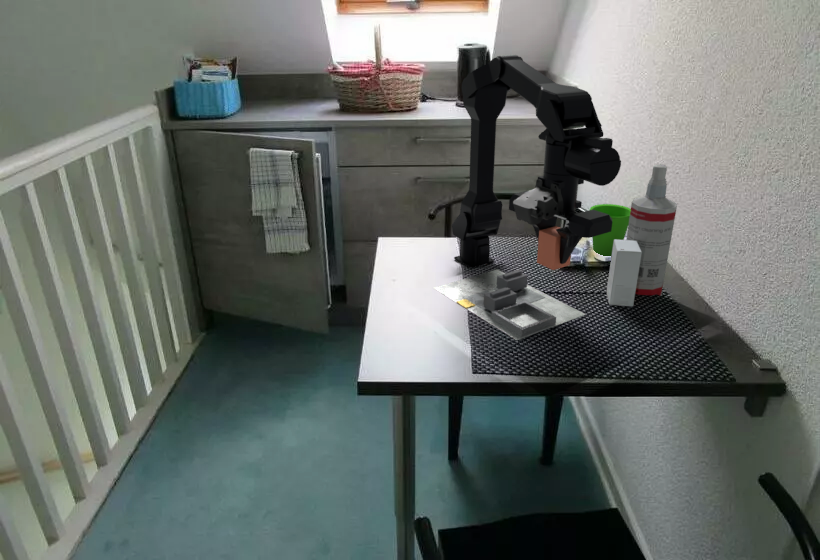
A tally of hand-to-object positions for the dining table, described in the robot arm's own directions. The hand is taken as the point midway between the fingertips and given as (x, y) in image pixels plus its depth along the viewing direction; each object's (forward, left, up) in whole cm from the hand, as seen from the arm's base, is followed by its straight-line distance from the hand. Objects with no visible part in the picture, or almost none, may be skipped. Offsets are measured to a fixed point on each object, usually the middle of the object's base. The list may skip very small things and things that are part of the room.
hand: (553, 259), depth 104 cm
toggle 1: (-9, -1, -9) cm, 13 cm away
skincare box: (+5, +13, -11) cm, 18 cm away
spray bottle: (+4, +20, -11) cm, 24 cm away
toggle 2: (-4, -8, -9) cm, 13 cm away
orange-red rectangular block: (0, 0, -1) cm, 1 cm away
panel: (-6, -5, -11) cm, 13 cm away
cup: (-12, +29, -11) cm, 33 cm away
